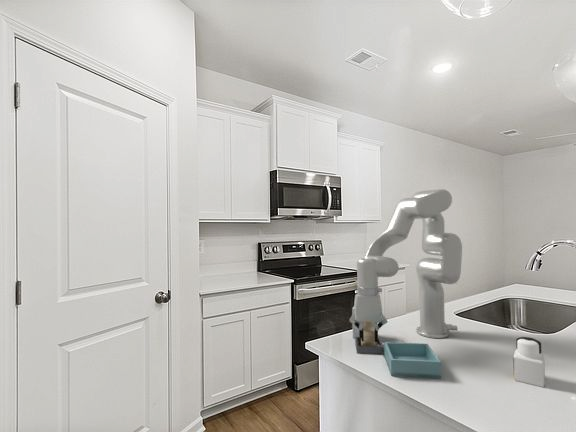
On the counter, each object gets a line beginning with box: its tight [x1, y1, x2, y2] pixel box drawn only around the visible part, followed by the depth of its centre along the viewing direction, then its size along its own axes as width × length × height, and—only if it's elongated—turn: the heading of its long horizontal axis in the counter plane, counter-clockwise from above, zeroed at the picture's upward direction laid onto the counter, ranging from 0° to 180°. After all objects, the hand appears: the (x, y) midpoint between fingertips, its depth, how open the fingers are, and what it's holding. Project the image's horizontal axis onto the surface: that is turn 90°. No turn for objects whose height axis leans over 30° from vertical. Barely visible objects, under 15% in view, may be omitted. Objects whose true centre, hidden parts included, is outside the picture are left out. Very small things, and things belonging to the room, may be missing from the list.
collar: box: [354, 337, 384, 355], centre depth 123 cm, size 10×10×2 cm
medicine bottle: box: [512, 336, 546, 388], centre depth 98 cm, size 7×7×12 cm
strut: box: [360, 322, 378, 346], centre depth 123 cm, size 5×5×12 cm
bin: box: [383, 341, 442, 379], centre depth 108 cm, size 15×15×5 cm
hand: (368, 339), depth 123 cm, fingers closed on strut, 4 cm apart
